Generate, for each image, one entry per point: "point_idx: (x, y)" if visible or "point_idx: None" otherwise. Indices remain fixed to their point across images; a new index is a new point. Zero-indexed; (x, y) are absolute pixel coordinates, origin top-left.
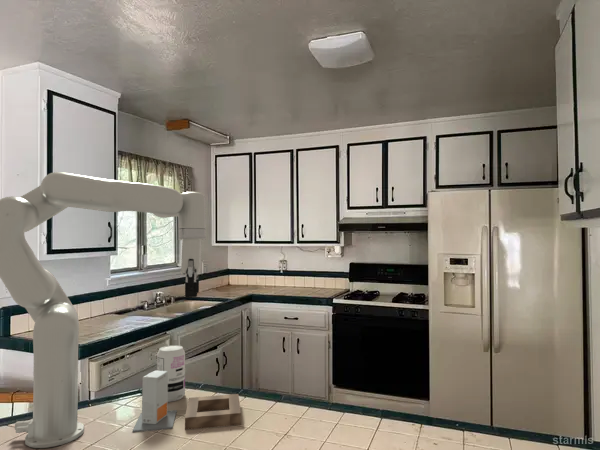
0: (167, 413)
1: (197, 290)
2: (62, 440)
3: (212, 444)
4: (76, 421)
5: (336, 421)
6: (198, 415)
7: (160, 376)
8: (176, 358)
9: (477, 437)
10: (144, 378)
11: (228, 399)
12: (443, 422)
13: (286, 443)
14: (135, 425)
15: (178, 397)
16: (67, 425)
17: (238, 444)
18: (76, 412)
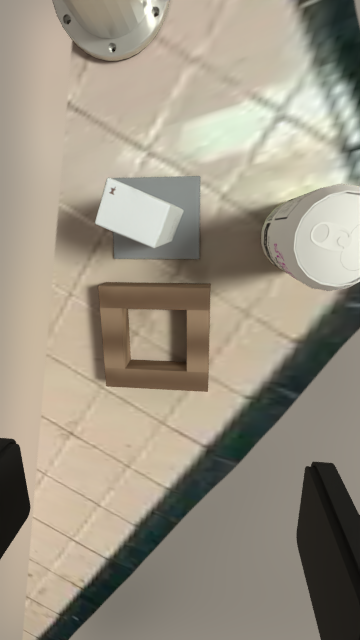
0: (184, 240)
1: (300, 552)
2: (63, 27)
3: (48, 329)
4: (104, 27)
5: (104, 506)
6: (105, 311)
7: (113, 231)
8: (283, 263)
9: (40, 615)
10: (105, 184)
11: (187, 369)
12: (82, 609)
13: (42, 428)
14: (133, 179)
15: (267, 257)
16: (73, 13)
17: (45, 366)
18: (95, 12)
